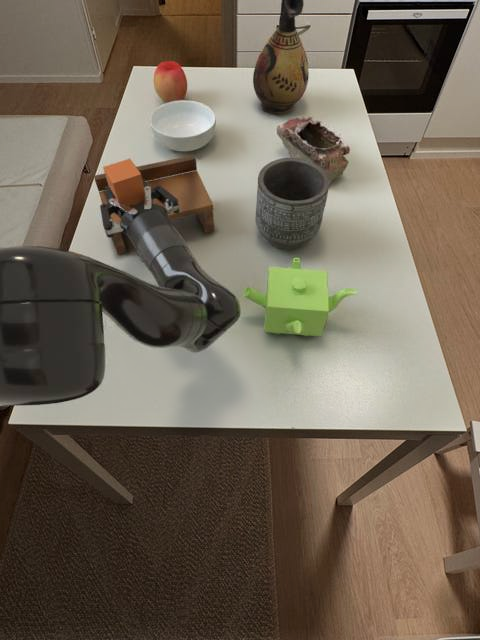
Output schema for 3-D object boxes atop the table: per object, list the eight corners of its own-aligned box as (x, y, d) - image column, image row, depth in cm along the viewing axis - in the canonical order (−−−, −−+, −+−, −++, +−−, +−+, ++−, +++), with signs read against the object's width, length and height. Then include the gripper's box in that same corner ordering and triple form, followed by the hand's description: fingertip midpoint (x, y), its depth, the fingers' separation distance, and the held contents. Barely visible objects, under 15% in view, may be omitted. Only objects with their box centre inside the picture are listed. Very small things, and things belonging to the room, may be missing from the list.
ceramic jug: (308, 120, 119) (327, -6, 94) (254, 121, 118) (259, -5, 93) (299, 89, 128) (315, -34, 103) (249, 90, 127) (253, -33, 102)
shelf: (118, 256, 89) (104, 217, 80) (107, 215, 96) (93, 175, 87) (214, 232, 94) (212, 193, 84) (197, 194, 101) (193, 154, 91)
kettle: (345, 322, 81) (359, 286, 71) (295, 365, 75) (303, 333, 66) (290, 277, 87) (296, 239, 77) (240, 314, 81) (240, 278, 72)
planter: (328, 228, 95) (342, 173, 82) (297, 267, 88) (308, 214, 76) (275, 204, 99) (281, 148, 86) (242, 240, 92) (243, 185, 80)
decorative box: (302, 197, 100) (308, 162, 92) (262, 152, 110) (264, 117, 102) (347, 181, 104) (356, 146, 96) (303, 139, 114) (309, 104, 106)
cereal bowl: (158, 165, 107) (153, 140, 101) (150, 128, 116) (146, 103, 110) (222, 156, 109) (221, 131, 103) (210, 121, 118) (208, 96, 112)
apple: (155, 94, 126) (150, 58, 117) (187, 91, 127) (183, 56, 118) (157, 111, 120) (152, 75, 112) (190, 108, 121) (187, 72, 113)
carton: (128, 235, 78) (112, 183, 68) (119, 219, 81) (102, 166, 71) (152, 226, 80) (141, 174, 70) (143, 211, 82) (130, 158, 72)
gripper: (197, 212, 67) (155, 155, 75) (112, 244, 63) (77, 180, 71) (200, 245, 73) (161, 189, 81) (123, 276, 69) (90, 214, 77)
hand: (122, 185), depth 76 cm, fingers closed on carton, 5 cm apart
